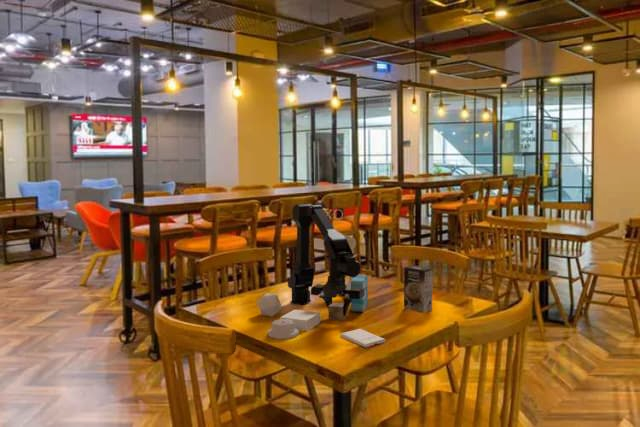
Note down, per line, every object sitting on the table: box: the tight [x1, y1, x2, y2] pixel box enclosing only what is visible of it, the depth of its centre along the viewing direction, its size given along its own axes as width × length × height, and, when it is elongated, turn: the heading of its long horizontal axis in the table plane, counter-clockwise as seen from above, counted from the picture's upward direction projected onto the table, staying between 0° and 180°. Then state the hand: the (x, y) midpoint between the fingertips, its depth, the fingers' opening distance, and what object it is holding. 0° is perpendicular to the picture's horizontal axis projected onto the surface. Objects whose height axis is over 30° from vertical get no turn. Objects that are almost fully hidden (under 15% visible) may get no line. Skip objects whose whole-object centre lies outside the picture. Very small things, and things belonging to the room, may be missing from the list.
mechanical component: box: [267, 318, 300, 340], centre depth 180 cm, size 10×4×10 cm
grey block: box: [280, 309, 321, 332], centre depth 190 cm, size 10×10×4 cm
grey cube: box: [327, 301, 348, 322], centre depth 197 cm, size 5×5×5 cm
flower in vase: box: [342, 234, 359, 290], centre depth 231 cm, size 13×11×25 cm
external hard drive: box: [340, 328, 387, 348], centre depth 175 cm, size 2×8×12 cm
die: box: [256, 292, 283, 318], centre depth 202 cm, size 8×9×10 cm
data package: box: [350, 274, 369, 313], centre depth 209 cm, size 12×4×12 cm, turn 166°
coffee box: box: [403, 264, 434, 314], centre depth 207 cm, size 9×6×16 cm
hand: (337, 314), depth 197 cm, fingers closed on grey cube, 5 cm apart
